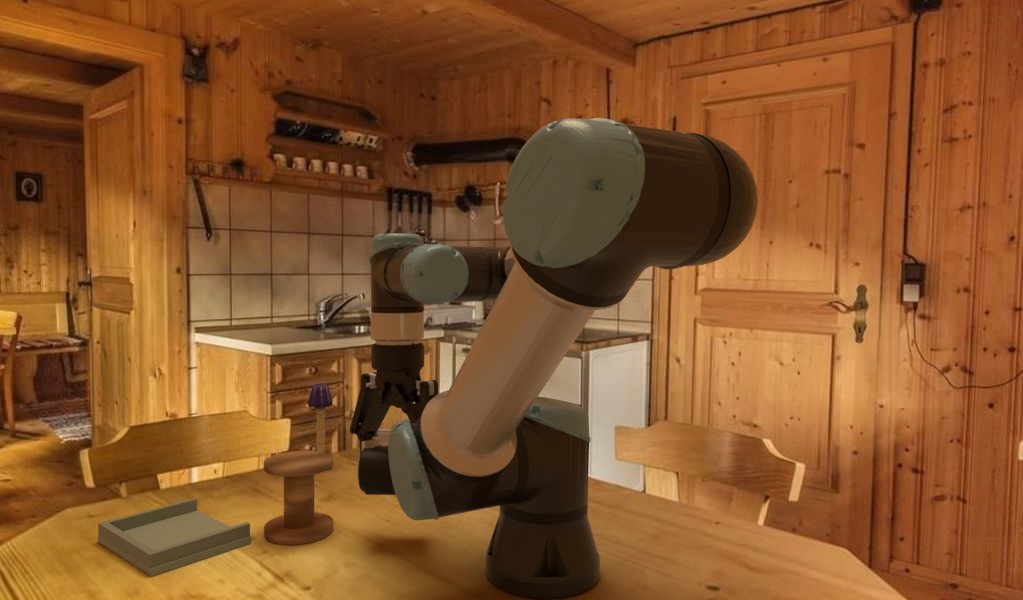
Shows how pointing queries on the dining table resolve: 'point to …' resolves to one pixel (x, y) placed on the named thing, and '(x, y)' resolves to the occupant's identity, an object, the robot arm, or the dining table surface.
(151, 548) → the olive grey tray
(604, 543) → the dining table surface
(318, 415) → the toy lamp
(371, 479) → the end cap
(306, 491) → the bobbin spool
